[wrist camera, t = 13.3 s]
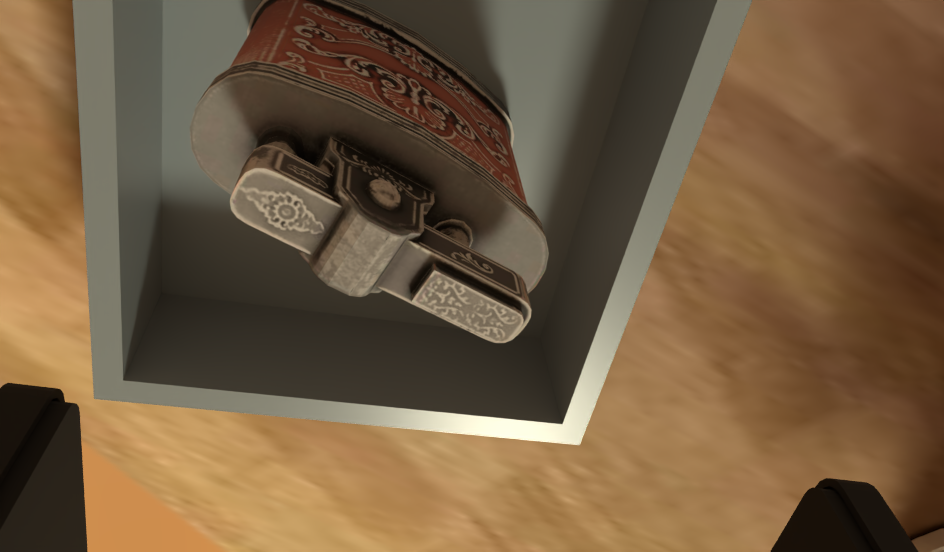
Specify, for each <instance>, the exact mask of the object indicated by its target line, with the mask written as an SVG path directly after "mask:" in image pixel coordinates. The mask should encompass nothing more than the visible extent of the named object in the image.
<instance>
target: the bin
mask: <svg viewBox="0 0 944 552" xmlns="http://www.w3.org/2000/svg"><path fill="white" fill-rule="evenodd" d="M355 1H357V2H360V3H363V4H365V5H367V6H369V7H371V8H373V9H375V10H376V11H378V12H380V13H382V14H384V15H386V16H388V17H390V18H391V19H393V20H395V21H397V22H399V23H401V24H403V25H405V26H407V27H408V28H410V29H412V30H414V31H416V32H418V33H419V34H421V35H422V36H423V37H425V38H426V39H427V40H429V41H430V42H432V43H433V44H434V45H436V46H437V47H438V48H440V49H441V50H443V51H444V52H445V53H447V54H448V55H449V56H451V57H452V58H454V59H455V60H456V61H458V62H459V63H461V64H462V65H463V66H464V67H466V68H467V69H468V70H469V71H470V72H471V73H472V74H473V75H474V76H475V77H476V78H477V79H478V80H480V81H481V82H482V83H483V84H484V85H485V86H486V87H487V88H488V89H489V90H490V91H491V92H492V93H493V94H495V95H496V96H497V97H498V98H499V99H500V100H501V101H502V103H503V104H504V105H505V107H506V108H507V110H508V112H509V115H510V118H511V122H512V127H513V131H514V140H513V147H512V150H513V154H514V157H515V161H516V165H517V168H518V172H519V176H520V179H521V183H522V186H523V190H524V194H525V197H526V201H527V204H528V206H529V207H530V208H532V210H533V211H534V212H535V214H536V215H537V217H538V218H539V219H540V221H541V223H542V227H543V230H544V234H545V237H546V242H547V247H548V252H549V255H548V260H547V265H546V270H545V272H544V274H543V276H542V277H541V279H540V281H539V282H538V284H537V286H536V287H535V288H534V289H533V290H532V291H530V292H529V293H528V297H529V301H530V306H531V310H532V311H531V318H530V320H529V321H528V323H527V325H526V326H525V327H524V329H523V330H522V331H521V332H520V333H519V334H518V335H517V336H516V337H515V338H514V339H513V340H510V341H508V342H506V343H494V342H491V341H488V340H485V339H483V338H481V337H479V336H477V335H475V334H473V333H471V332H469V331H467V330H465V329H463V328H461V327H459V326H456V325H454V324H452V323H450V322H448V321H446V320H444V319H442V318H440V317H438V316H436V315H434V314H432V313H430V312H427V311H425V310H423V309H421V308H419V307H417V306H415V305H413V304H411V303H409V302H407V301H405V300H403V299H401V298H399V297H396V296H394V295H392V294H390V293H388V292H386V291H384V290H382V291H381V292H380V293H369V294H368V295H366V296H363V297H355V296H349V295H347V294H345V293H343V292H341V291H338V290H336V289H334V288H332V287H330V286H328V285H326V284H325V283H324V282H323V281H321V280H320V279H319V278H318V277H317V276H316V275H315V274H314V273H313V271H312V270H311V268H310V266H309V264H308V263H307V262H306V261H305V260H304V259H303V258H302V257H301V255H300V254H299V252H298V249H297V248H295V247H293V246H291V245H289V244H287V243H285V242H283V241H281V240H278V239H276V238H274V237H272V236H270V235H268V234H266V233H264V232H262V231H260V230H258V229H256V228H254V227H252V226H249V225H248V224H246V223H244V222H243V221H241V220H240V219H238V218H237V217H236V216H235V214H234V213H233V212H232V210H231V206H230V199H231V196H232V195H231V194H230V193H228V192H227V191H226V190H224V189H223V188H221V187H220V186H218V185H217V184H216V183H214V182H213V181H212V180H211V179H210V178H209V177H208V176H207V175H206V174H205V173H204V172H203V171H202V170H201V169H200V167H199V165H198V163H197V161H196V158H195V156H194V154H193V152H192V150H191V140H190V124H191V121H192V117H193V114H194V110H195V107H196V105H197V104H198V102H199V100H200V99H201V97H202V96H203V94H204V92H205V91H206V90H207V88H208V87H209V86H210V84H211V83H212V82H213V80H214V79H215V78H216V76H218V75H219V74H221V73H222V72H224V71H225V70H227V69H228V68H230V66H231V64H232V63H233V61H234V59H235V57H236V56H237V54H238V52H239V51H240V49H241V47H242V45H243V44H244V42H245V40H246V38H247V30H248V26H249V23H250V20H251V16H252V14H253V12H254V11H255V9H256V7H257V6H258V4H259V3H260V2H261V0H73V18H74V36H75V55H76V73H77V92H78V110H79V129H80V147H81V166H82V184H83V203H84V221H85V240H86V258H87V277H88V295H89V314H90V332H91V351H92V369H93V388H94V399H101V400H111V401H122V402H132V403H143V404H153V405H164V406H174V407H185V408H195V409H206V410H216V411H227V412H237V413H248V414H258V415H269V416H279V417H290V418H300V419H311V420H321V421H332V422H342V423H353V424H363V425H374V426H385V427H395V428H406V429H416V430H427V431H437V432H448V433H458V434H469V435H479V436H490V437H500V438H511V439H521V440H532V441H542V442H553V443H563V444H574V445H580V443H581V440H582V438H583V435H584V433H585V430H586V428H587V425H588V422H589V420H590V417H591V415H592V412H593V409H594V407H595V404H596V402H597V399H598V397H599V394H600V391H601V389H602V386H603V384H604V381H605V379H606V376H607V373H608V371H609V368H610V366H611V363H612V360H613V358H614V355H615V353H616V350H617V348H618V345H619V342H620V340H621V337H622V335H623V332H624V330H625V327H626V324H627V322H628V319H629V317H630V314H631V311H632V309H633V306H634V304H635V301H636V299H637V296H638V293H639V291H640V288H641V286H642V283H643V281H644V278H645V275H646V273H647V270H648V268H649V265H650V262H651V260H652V257H653V255H654V252H655V250H656V247H657V244H658V242H659V239H660V237H661V234H662V232H663V229H664V226H665V224H666V221H667V219H668V216H669V213H670V211H671V208H672V206H673V203H674V201H675V198H676V195H677V193H678V190H679V188H680V185H681V183H682V180H683V177H684V175H685V172H686V170H687V167H688V164H689V162H690V159H691V157H692V154H693V152H694V149H695V146H696V144H697V141H698V139H699V136H700V134H701V131H702V128H703V126H704V123H705V121H706V118H707V115H708V113H709V110H710V108H711V105H712V103H713V100H714V97H715V95H716V92H717V90H718V87H719V85H720V82H721V79H722V77H723V74H724V72H725V69H726V66H727V64H728V61H729V59H730V56H731V54H732V51H733V48H734V46H735V43H736V41H737V38H738V36H739V33H740V30H741V28H742V25H743V23H744V20H745V17H746V15H747V12H748V10H749V7H750V5H751V2H752V0H355Z"/></svg>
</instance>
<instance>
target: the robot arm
mask: <svg viewBox="0 0 944 552" xmlns="http://www.w3.org/2000/svg"><path fill="white" fill-rule="evenodd" d="M0 552H87V535H86V518H85V500H84V483H83V465H82V447H81V429H80V412H79V407H78V405H77V404H75V403H67V402H65V400H64V394H63V392H62V391H61V390H60V389H56V388H48V387H39V386H30V385H22V384H13V383H7V384H5V385H3V386H2V387H1V388H0ZM771 552H944V528H942V529H939V530H936V531H933V532H931V533H928V534H926V535H923V536H920V537H918V538H915V539H913V540H910V538H909V537H908V535H907V534H906V532H905V531H904V529H903V528H902V526H901V525H900V523H899V522H898V520H897V519H896V517H895V516H894V514H893V512H892V511H891V509H890V508H889V506H888V505H887V503H886V502H885V500H884V499H883V497H882V496H881V494H880V493H879V492H878V491H877V489H876V488H875V487H874V486H872V485H870V484H869V483H865V482H856V481H848V480H839V479H827V478H826V479H824V480H822V481H820V482H819V483H818V485H817V486H816V487H815V488H811V489H809V490H808V491H807V492H806V493H805V494H804V496H803V498H802V500H801V501H800V503H799V505H798V506H797V508H796V510H795V511H794V513H793V515H792V516H791V518H790V520H789V521H788V523H787V525H786V526H785V528H784V530H783V531H782V533H781V535H780V537H779V538H778V540H777V542H776V543H775V545H774V547H773V548H772V550H771Z"/></svg>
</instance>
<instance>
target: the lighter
mask: <svg viewBox="0 0 944 552" xmlns="http://www.w3.org/2000/svg"><path fill="white" fill-rule="evenodd" d="M190 140H191V150H192V152H193V154H194V156H195V158H196V161H197V163H198V165H199V167H200V169H201V170H202V171H203V172H204V173H205V174H206V175H207V176H208V177H209V178H210V179H211V180H212V181H213V182H214V183H216V184H217V185H218V186H220V187H221V188H223V189H224V190H226V191H227V192H228V193H230V194H231V195H232V196H231V199H230V206H231V210H232V212H233V213H234V214H235V216H236V217H237V218H238V219H240V220H241V221H243V222H244V223H246V224H248V225H249V226H252V227H254V228H256V229H258V230H260V231H262V232H264V233H266V234H268V235H270V236H272V237H274V238H276V239H278V240H281V241H283V242H285V243H287V244H289V245H291V246H293V247H295V248H297V249H298V252H299V254H300V255H301V257H302V258H303V259H304V260H305V261H306V262H307V263H308V264H309V266H310V268H311V270H312V271H313V273H314V274H315V275H316V276H317V277H318V278H319V279H320V280H321V281H323V282H324V283H325V284H326V285H328V286H330V287H332V288H334V289H336V290H338V291H341V292H343V293H345V294H347V295H349V296H355V297H363V296H366V295H368V294H369V293H380V292H381V291H382V290H384V291H386V292H388V293H390V294H392V295H394V296H396V297H399V298H401V299H403V300H405V301H407V302H409V303H411V304H413V305H415V306H417V307H419V308H421V309H423V310H425V311H427V312H430V313H432V314H434V315H436V316H438V317H440V318H442V319H444V320H446V321H448V322H450V323H452V324H454V325H456V326H459V327H461V328H463V329H465V330H467V331H469V332H471V333H473V334H475V335H477V336H479V337H481V338H483V339H485V340H488V341H491V342H494V343H506V342H508V341H510V340H513V339H514V338H515V337H516V336H517V335H518V334H519V333H520V332H521V331H522V330H523V329H524V327H525V326H526V325H527V323H528V321H529V320H530V318H531V311H532V310H531V306H530V301H529V297H528V293H529V292H530V291H532V290H533V289H534V288H535V287H536V286H537V284H538V282H539V281H540V279H541V277H542V276H543V274H544V272H545V270H546V265H547V260H548V255H549V252H548V247H547V242H546V237H545V234H544V230H543V227H542V223H541V221H540V219H539V218H538V217H537V215H536V214H535V212H534V211H533V210H532V208H530V207H529V206H528V204H527V201H526V197H525V194H524V190H523V186H522V183H521V179H520V176H519V172H518V168H517V165H516V161H515V157H514V154H513V150H512V147H513V140H514V131H513V127H512V122H511V118H510V115H509V112H508V110H507V108H506V107H505V105H504V104H503V103H502V101H501V100H500V99H499V98H498V97H497V96H496V95H495V94H493V93H492V92H491V91H490V90H489V89H488V88H487V87H486V86H485V85H484V84H483V83H482V82H481V81H480V80H478V79H477V78H476V77H475V76H474V75H473V74H472V73H471V72H470V71H469V70H468V69H467V68H466V67H464V66H463V65H462V64H461V63H459V62H458V61H456V60H455V59H454V58H452V57H451V56H449V55H448V54H447V53H445V52H444V51H443V50H441V49H440V48H438V47H437V46H436V45H434V44H433V43H432V42H430V41H429V40H427V39H426V38H425V37H423V36H422V35H421V34H419V33H418V32H416V31H414V30H412V29H410V28H408V27H407V26H405V25H403V24H401V23H399V22H397V21H395V20H393V19H391V18H390V17H388V16H386V15H384V14H382V13H380V12H378V11H376V10H375V9H373V8H371V7H369V6H367V5H365V4H363V3H360V2H357V1H355V0H261V2H260V3H259V4H258V6H257V7H256V9H255V11H254V12H253V14H252V16H251V20H250V23H249V26H248V30H247V38H246V40H245V42H244V44H243V45H242V47H241V49H240V51H239V52H238V54H237V56H236V57H235V59H234V61H233V63H232V64H231V66H230V68H228V69H227V70H225V71H224V72H222V73H221V74H219V75H218V76H216V78H215V79H214V80H213V82H212V83H211V84H210V86H209V87H208V88H207V90H206V91H205V92H204V94H203V96H202V97H201V99H200V100H199V102H198V104H197V105H196V107H195V110H194V114H193V117H192V121H191V124H190Z"/></svg>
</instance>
